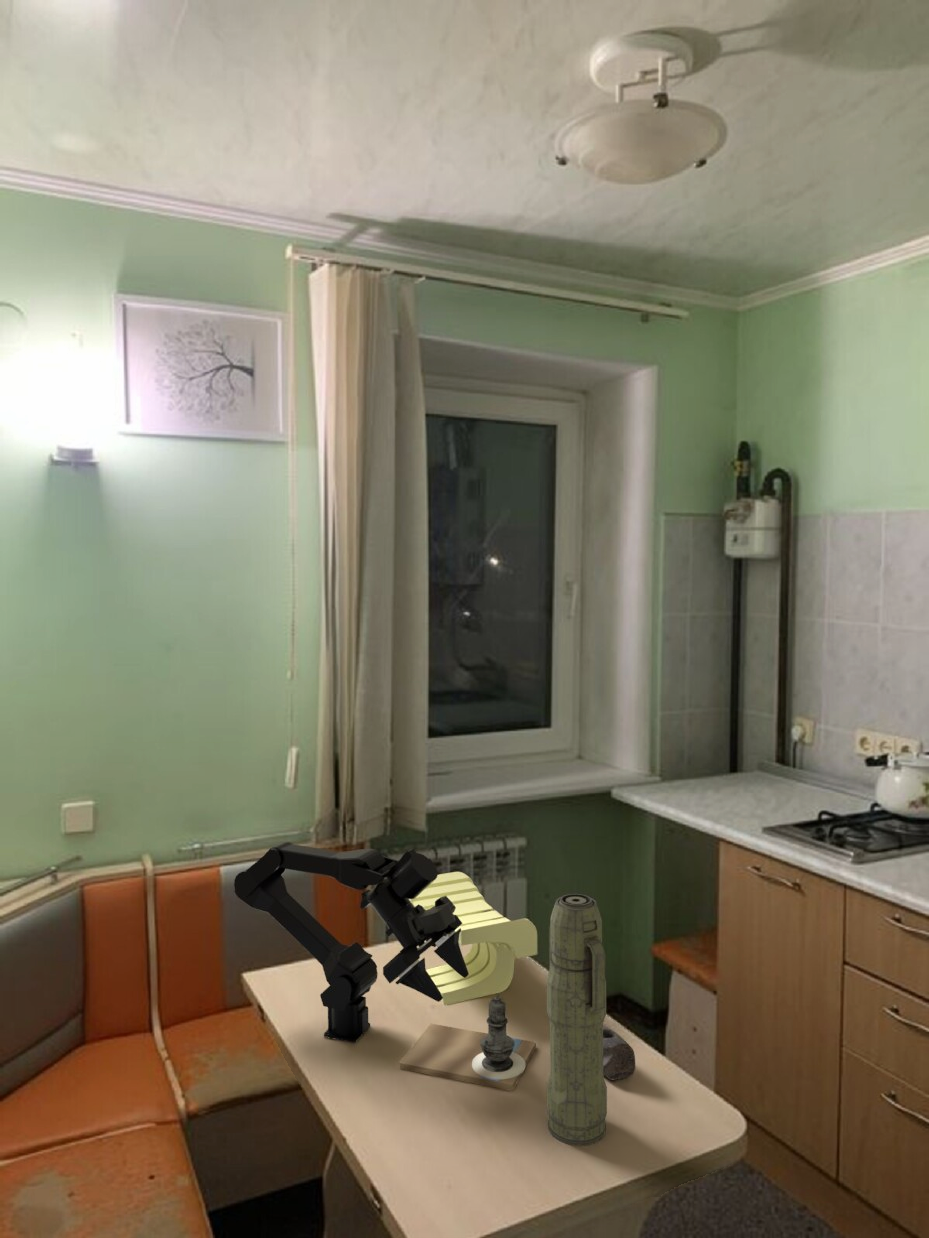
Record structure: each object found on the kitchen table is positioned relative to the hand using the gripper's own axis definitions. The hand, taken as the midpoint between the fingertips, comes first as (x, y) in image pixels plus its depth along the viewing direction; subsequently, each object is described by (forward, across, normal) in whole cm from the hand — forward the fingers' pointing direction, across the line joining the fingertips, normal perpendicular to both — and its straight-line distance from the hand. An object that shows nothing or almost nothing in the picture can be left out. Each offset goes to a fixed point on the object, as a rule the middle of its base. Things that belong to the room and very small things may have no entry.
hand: (454, 987), depth 155 cm
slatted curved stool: (+2, +26, +18) cm, 32 cm away
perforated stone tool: (+25, +9, -7) cm, 28 cm away
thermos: (+27, -9, -10) cm, 30 cm away
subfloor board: (+10, +1, +7) cm, 13 cm away
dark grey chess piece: (+14, 0, +2) cm, 14 cm away
